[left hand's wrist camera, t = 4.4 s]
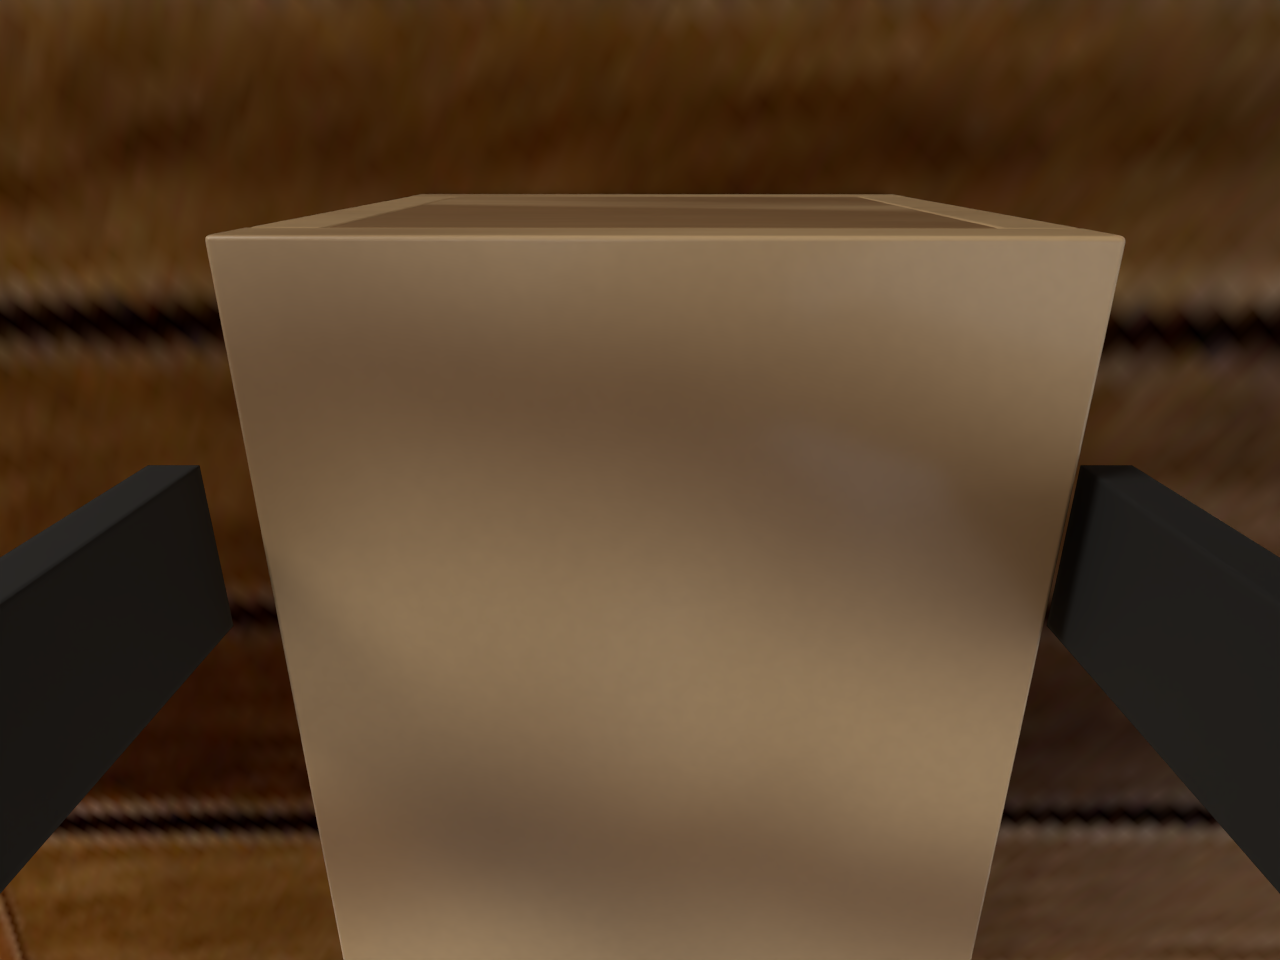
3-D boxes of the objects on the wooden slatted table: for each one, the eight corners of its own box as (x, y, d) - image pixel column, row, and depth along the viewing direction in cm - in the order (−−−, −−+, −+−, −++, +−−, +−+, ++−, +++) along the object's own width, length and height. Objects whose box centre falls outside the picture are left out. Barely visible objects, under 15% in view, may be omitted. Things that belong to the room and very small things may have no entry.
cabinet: (821, 861, 28) (912, 1240, 18) (483, 858, 28) (394, 1232, 18) (894, 194, 20) (1129, 235, 10) (419, 193, 20) (201, 234, 10)
